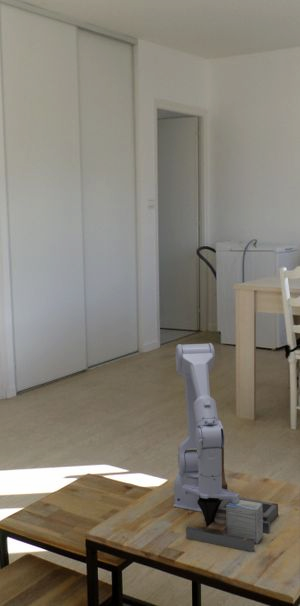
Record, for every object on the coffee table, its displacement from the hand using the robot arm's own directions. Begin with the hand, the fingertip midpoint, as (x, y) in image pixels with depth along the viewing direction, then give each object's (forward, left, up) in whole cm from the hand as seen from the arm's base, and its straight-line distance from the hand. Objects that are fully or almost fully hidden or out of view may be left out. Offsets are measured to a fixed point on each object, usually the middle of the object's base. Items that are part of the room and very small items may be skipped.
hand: (210, 525), depth 186 cm
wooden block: (-8, +23, -2) cm, 24 cm away
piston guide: (+5, 0, -1) cm, 5 cm away
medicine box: (+9, 0, -2) cm, 9 cm away
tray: (+5, +12, -1) cm, 13 cm away
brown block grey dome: (+3, 0, -1) cm, 3 cm away
